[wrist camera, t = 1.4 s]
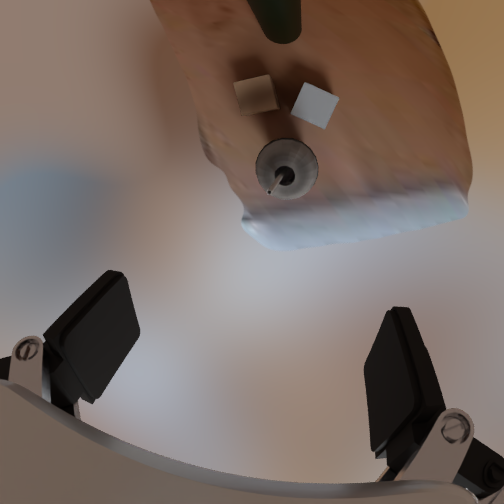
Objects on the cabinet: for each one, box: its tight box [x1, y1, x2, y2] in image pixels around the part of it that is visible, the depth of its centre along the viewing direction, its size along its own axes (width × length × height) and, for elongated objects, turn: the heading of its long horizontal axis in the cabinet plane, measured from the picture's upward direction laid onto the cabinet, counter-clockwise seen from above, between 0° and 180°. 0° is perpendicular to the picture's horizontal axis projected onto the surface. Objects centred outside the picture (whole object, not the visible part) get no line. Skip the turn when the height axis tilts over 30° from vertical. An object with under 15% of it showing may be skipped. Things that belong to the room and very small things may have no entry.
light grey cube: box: [291, 82, 339, 129], centre depth 34 cm, size 5×5×5 cm
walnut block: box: [233, 74, 280, 116], centre depth 35 cm, size 5×5×5 cm
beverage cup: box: [256, 138, 318, 200], centre depth 32 cm, size 7×7×20 cm
